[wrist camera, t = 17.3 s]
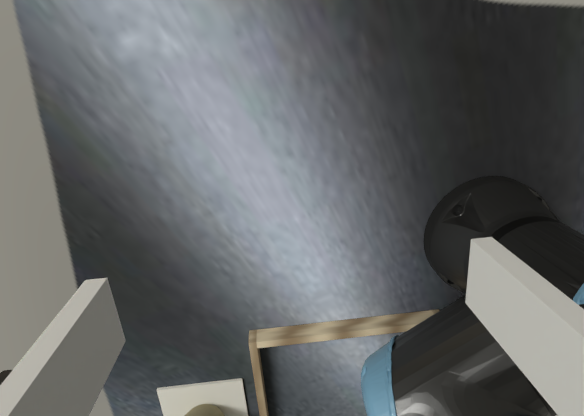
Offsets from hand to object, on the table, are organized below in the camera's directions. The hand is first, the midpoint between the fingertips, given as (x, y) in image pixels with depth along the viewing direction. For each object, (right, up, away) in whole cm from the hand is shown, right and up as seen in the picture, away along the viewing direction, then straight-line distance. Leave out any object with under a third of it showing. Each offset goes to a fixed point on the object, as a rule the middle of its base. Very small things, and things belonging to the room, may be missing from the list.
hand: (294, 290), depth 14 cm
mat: (-13, -27, +44) cm, 53 cm away
